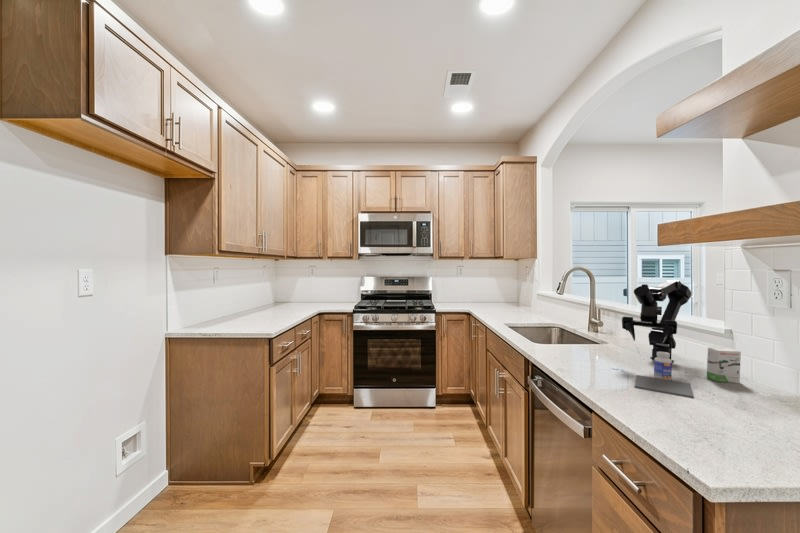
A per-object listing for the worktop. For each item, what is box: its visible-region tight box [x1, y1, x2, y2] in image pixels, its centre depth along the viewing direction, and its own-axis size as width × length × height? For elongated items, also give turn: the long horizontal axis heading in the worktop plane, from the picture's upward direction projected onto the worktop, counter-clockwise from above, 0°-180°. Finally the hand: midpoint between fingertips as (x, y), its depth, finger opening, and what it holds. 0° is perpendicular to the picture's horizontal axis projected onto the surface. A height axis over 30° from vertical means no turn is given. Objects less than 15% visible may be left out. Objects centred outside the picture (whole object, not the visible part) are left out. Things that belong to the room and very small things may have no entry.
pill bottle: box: [653, 352, 673, 381], centre depth 138 cm, size 5×5×10 cm
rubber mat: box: [634, 374, 695, 399], centre depth 128 cm, size 16×16×1 cm
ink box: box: [706, 346, 742, 384], centre depth 137 cm, size 9×5×12 cm, turn 87°
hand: (647, 341), depth 147 cm, fingers open, 9 cm apart
